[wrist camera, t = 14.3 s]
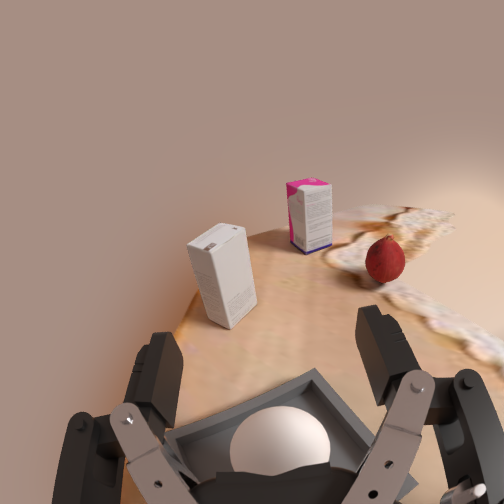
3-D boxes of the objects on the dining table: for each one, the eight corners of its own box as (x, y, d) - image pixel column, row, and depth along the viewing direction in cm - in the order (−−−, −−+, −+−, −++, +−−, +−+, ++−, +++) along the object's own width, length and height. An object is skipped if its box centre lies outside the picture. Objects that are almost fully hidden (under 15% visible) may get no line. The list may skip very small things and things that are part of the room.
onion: (370, 297, 37) (376, 247, 33) (359, 273, 42) (362, 226, 38) (406, 291, 37) (415, 242, 33) (392, 268, 42) (398, 223, 38)
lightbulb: (259, 516, 15) (231, 497, 10) (243, 458, 21) (211, 403, 15) (332, 494, 16) (352, 460, 11) (309, 439, 21) (311, 376, 16)
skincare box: (234, 295, 42) (218, 220, 36) (259, 305, 40) (247, 225, 34) (206, 320, 38) (182, 242, 32) (231, 333, 36) (210, 251, 30)
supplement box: (333, 245, 50) (332, 184, 45) (305, 255, 49) (302, 191, 43) (315, 233, 55) (312, 176, 49) (289, 242, 54) (283, 182, 48)
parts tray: (314, 381, 28) (314, 367, 26) (409, 489, 15) (418, 483, 14) (171, 442, 23) (162, 433, 22) (238, 580, 10) (231, 584, 9)
